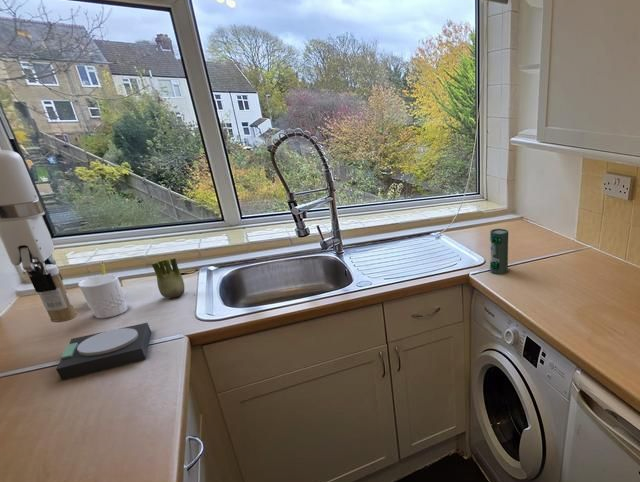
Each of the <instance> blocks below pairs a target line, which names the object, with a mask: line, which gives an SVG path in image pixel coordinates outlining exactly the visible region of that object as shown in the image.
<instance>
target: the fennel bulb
mask: <svg viewBox="0 0 640 482" xmlns="http://www.w3.org/2000/svg"><path fill="white" fill-rule="evenodd" d="M151 267H152V268H153V270H154V273H155V275H156V282H157V288H158V291H159V294H160V295H161V296H162V297H164V298H165V299H172V298H177V297H180V296H182V295H183V294H184V293H185V283H184V278H183V276H182V274H181V271H180V269H179V265H178V263H177V259H176V257H171V258H170V261H169V259H168V258H164V259H161V260H158V261H155V262H152V263H151Z"/></svg>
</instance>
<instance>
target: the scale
mask: <svg viewBox="0 0 640 482" xmlns="http://www.w3.org/2000/svg"><path fill="white" fill-rule="evenodd" d="M151 336H152V330H151V328H150V324H149V322H143V323H140V324H134V325H129V326H125V327H120V328H115V329H110V330H106V331H101V332H96V333H92V334H88V335H87V334H86V335H82V336H78V337H73V338H71V339H70V341H69V343H68V344H67V345H66V347H65V349H64V351H63V352H62V354H61V356H60V360H59V362H58V364H57V366H56V368H55V370H56V372H57V374H58V376H59V378H60V381H64V380H65V381H66V380H69V379H72V378H76V377H80V376H84V375H90V374H92V373H96V372H100V371H105V370H108V369H112V368H113V369H114V368H116V367H120V366H124V365H128V364H132V363H136V362H140V361H144V360H146V359H147V357H148V351H149V346H150V340H151Z"/></svg>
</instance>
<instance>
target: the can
mask: <svg viewBox="0 0 640 482" xmlns="http://www.w3.org/2000/svg"><path fill="white" fill-rule="evenodd" d="M489 265H490V266H489V271H490V272H491V273H492V274H493V275H494V274H495V275H504V274H506V273H508V271H509V270H508V269H509V230H508V229H504V228H493V229H490V231H489Z"/></svg>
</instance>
